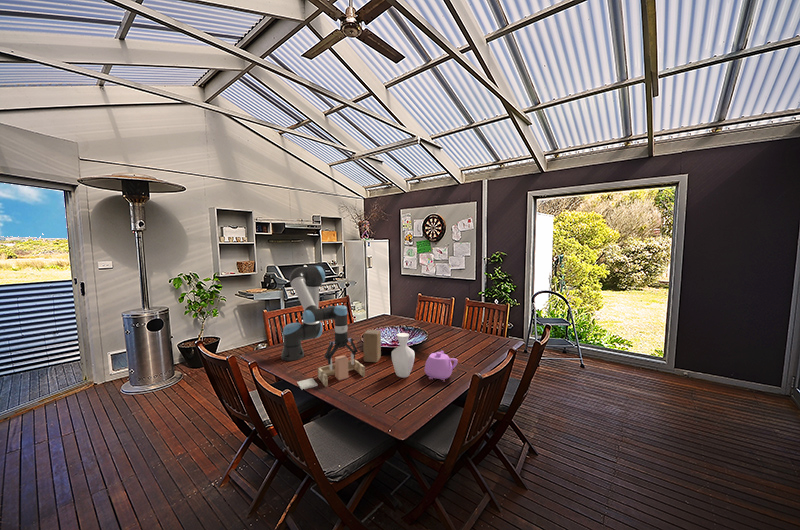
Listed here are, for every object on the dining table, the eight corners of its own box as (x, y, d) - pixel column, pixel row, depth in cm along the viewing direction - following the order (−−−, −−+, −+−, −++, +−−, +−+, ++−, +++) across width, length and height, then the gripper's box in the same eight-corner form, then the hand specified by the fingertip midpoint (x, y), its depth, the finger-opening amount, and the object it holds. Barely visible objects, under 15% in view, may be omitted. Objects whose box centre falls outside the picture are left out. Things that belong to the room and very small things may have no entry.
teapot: (460, 371, 189) (460, 348, 188) (455, 385, 170) (455, 359, 169) (429, 367, 195) (429, 344, 194) (421, 380, 176) (421, 355, 175)
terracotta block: (335, 376, 181) (334, 357, 180) (344, 374, 184) (344, 355, 183) (338, 380, 176) (338, 360, 175) (348, 377, 179) (348, 358, 178)
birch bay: (317, 377, 180) (317, 367, 179) (355, 368, 193) (355, 359, 192) (325, 386, 168) (325, 376, 168) (364, 376, 181) (364, 366, 181)
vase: (388, 371, 188) (387, 332, 186) (408, 368, 193) (408, 330, 191) (396, 381, 175) (396, 339, 173) (418, 377, 180) (418, 336, 178)
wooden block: (377, 363, 201) (377, 334, 200) (363, 361, 203) (362, 333, 202) (381, 357, 211) (381, 329, 210) (367, 356, 213) (367, 328, 212)
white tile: (297, 382, 173) (297, 381, 173) (312, 379, 178) (312, 378, 178) (301, 390, 164) (301, 388, 164) (317, 385, 169) (317, 384, 169)
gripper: (322, 337, 168) (323, 373, 170) (362, 330, 182) (363, 364, 183) (318, 333, 175) (319, 369, 176) (357, 327, 188) (358, 360, 189)
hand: (341, 366), depth 180 cm, fingers open, 13 cm apart
